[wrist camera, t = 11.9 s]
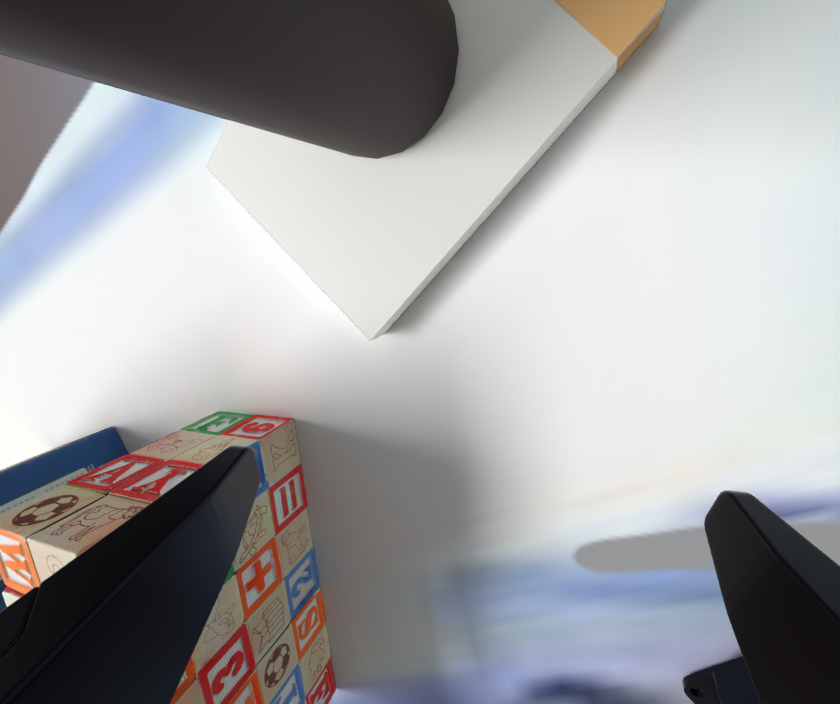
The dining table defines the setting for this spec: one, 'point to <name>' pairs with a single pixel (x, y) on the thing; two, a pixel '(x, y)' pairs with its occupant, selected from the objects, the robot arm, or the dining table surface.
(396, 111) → the vinegar
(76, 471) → the protein box
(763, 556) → the robot arm
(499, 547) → the dining table surface
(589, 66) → the white flat block
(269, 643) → the stack of blocks
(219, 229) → the dining table surface
